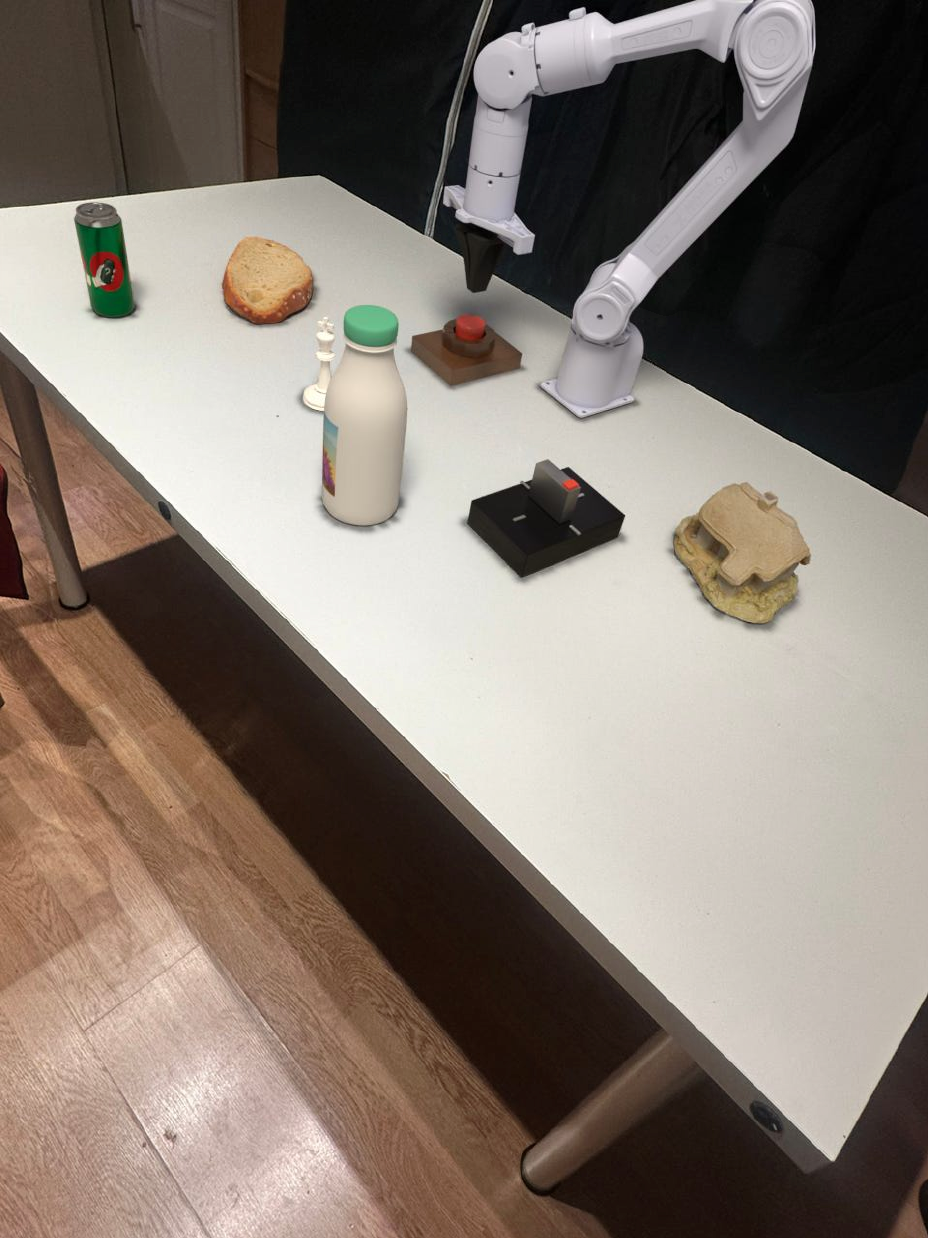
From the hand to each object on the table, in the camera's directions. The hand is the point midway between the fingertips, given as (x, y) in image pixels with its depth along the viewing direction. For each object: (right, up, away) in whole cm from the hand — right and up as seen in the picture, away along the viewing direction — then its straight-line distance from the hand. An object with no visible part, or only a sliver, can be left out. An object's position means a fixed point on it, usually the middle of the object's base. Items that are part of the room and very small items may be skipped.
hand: (476, 289), depth 99 cm
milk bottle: (-12, -28, -16) cm, 34 cm away
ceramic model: (+26, -35, -15) cm, 46 cm away
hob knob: (+7, -29, -17) cm, 34 cm away
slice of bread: (-29, +6, +13) cm, 32 cm away
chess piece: (-18, -14, -4) cm, 23 cm away
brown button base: (-1, -6, +7) cm, 9 cm away
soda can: (-45, -1, +4) cm, 45 cm away
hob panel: (+7, -31, -15) cm, 35 cm away
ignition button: (-1, -4, +4) cm, 6 cm away
